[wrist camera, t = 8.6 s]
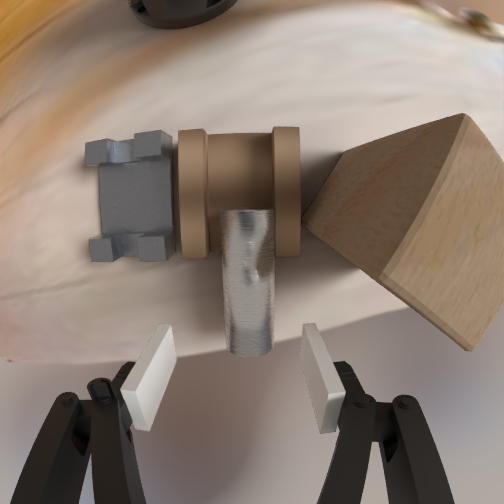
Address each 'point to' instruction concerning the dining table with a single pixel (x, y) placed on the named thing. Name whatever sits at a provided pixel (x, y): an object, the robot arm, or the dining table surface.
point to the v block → (134, 197)
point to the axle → (248, 279)
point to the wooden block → (423, 221)
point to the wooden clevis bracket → (238, 185)
